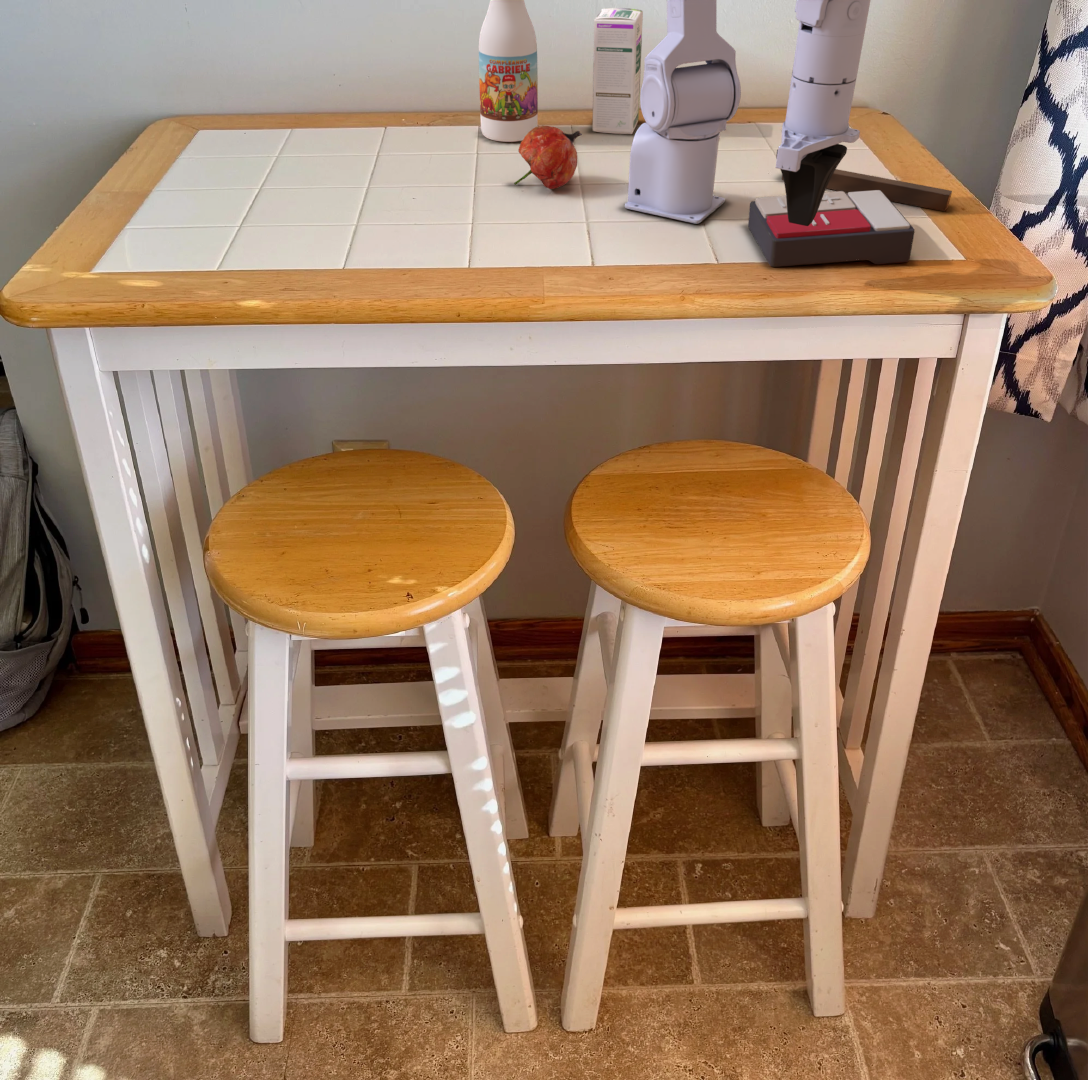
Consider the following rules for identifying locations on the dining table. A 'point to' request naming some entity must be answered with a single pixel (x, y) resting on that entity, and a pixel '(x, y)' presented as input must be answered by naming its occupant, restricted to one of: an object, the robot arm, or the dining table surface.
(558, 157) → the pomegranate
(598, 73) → the syrup box
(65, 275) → the dining table surface
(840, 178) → the bar
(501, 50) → the milk bottle
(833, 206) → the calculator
